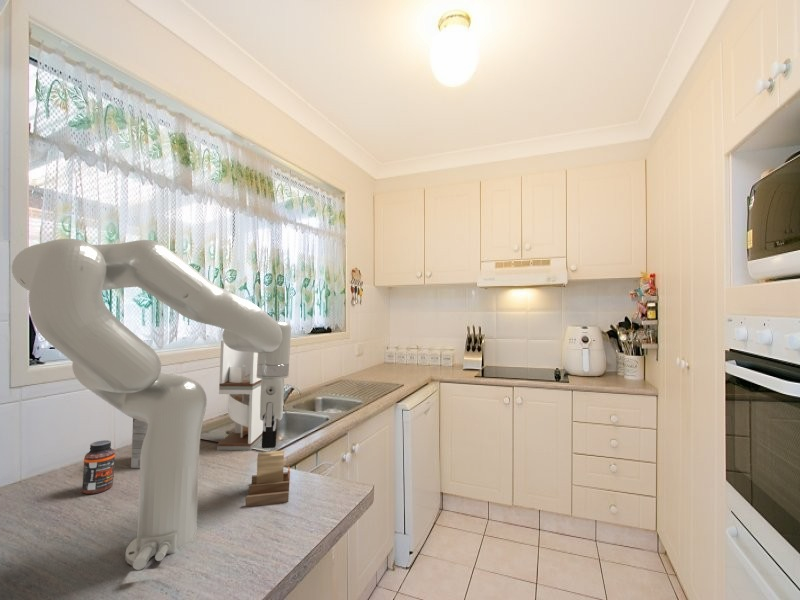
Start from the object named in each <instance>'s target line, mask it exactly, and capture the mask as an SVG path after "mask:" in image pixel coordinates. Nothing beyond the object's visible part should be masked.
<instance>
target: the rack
mask: <svg viewBox="0 0 800 600" xmlns="http://www.w3.org/2000/svg"><path fill="white" fill-rule="evenodd" d="M290 476H291V467H290V466H288V467H287V471H283V482H273V483H263V484H257V474H254V475H253V474H252V475H251V484H249V486H248V495H246V496H245V508H246V507H247V508H249V507H255V506H256V507H257V506H264V505H265V506H266V505H274V504H284V503H289V499H290V498H289V497H290V479H291V478H290Z"/></svg>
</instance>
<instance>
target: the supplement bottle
mask: <svg viewBox="0 0 800 600" xmlns="http://www.w3.org/2000/svg"><path fill="white" fill-rule="evenodd" d="M111 441H112V440H107V439H105V440H104V439H103V440H98V441H94V442H92V443H90V445H89V451H88V452H87V453H86V454H85V456H84V457H83V458H84V459H83V460H84V461H83V473H82V486H81V488H82V490H81V491H82V492H83V493H84V494H88V495H93V494H99V493H102V492H105V491H107V490H110V488H112V487H113V486H114V477H115V460H116V452H115V450H114V449H113V448H111V446H112V442H111Z"/></svg>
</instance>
